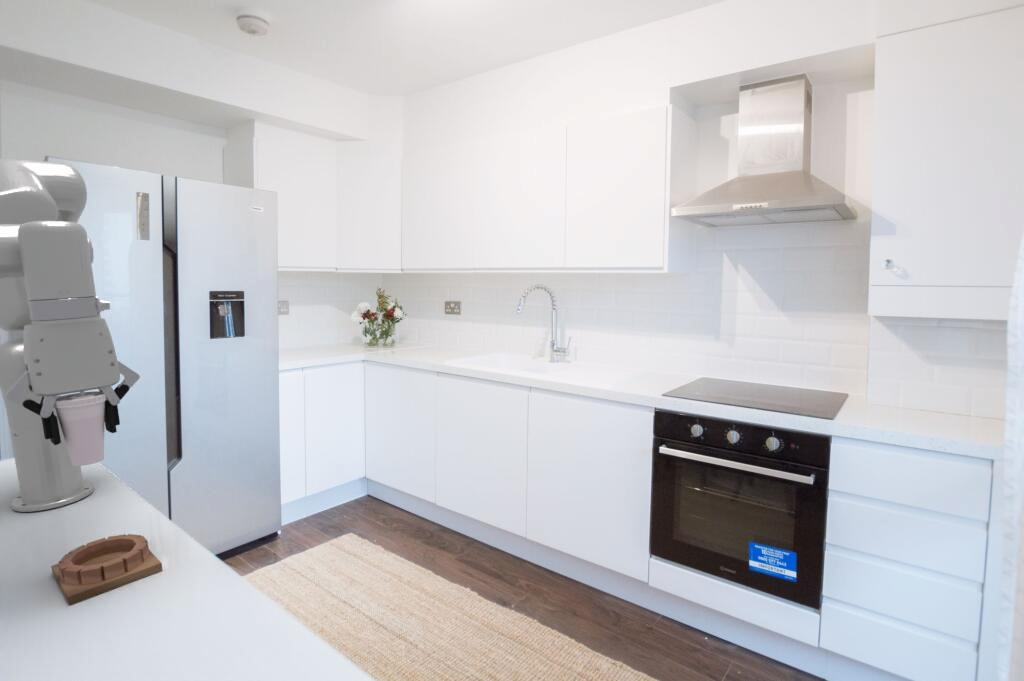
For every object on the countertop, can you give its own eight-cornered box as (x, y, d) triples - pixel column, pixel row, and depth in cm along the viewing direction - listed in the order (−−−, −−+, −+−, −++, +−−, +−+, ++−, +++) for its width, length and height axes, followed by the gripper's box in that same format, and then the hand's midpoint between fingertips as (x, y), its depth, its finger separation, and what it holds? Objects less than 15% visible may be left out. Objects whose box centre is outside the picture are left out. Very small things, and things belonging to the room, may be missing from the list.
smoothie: (86, 470, 79) (72, 370, 77) (48, 468, 80) (33, 370, 78) (125, 454, 85) (114, 362, 83) (90, 453, 86) (77, 362, 85)
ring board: (52, 573, 84) (49, 553, 83) (138, 544, 92) (136, 525, 91) (69, 605, 76) (65, 583, 75) (162, 570, 84) (159, 550, 83)
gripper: (129, 306, 89) (145, 419, 91) (-22, 317, 76) (1, 448, 79) (143, 306, 83) (160, 426, 86) (-16, 319, 71) (9, 459, 73)
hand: (84, 435), depth 82 cm, fingers closed on smoothie, 5 cm apart
